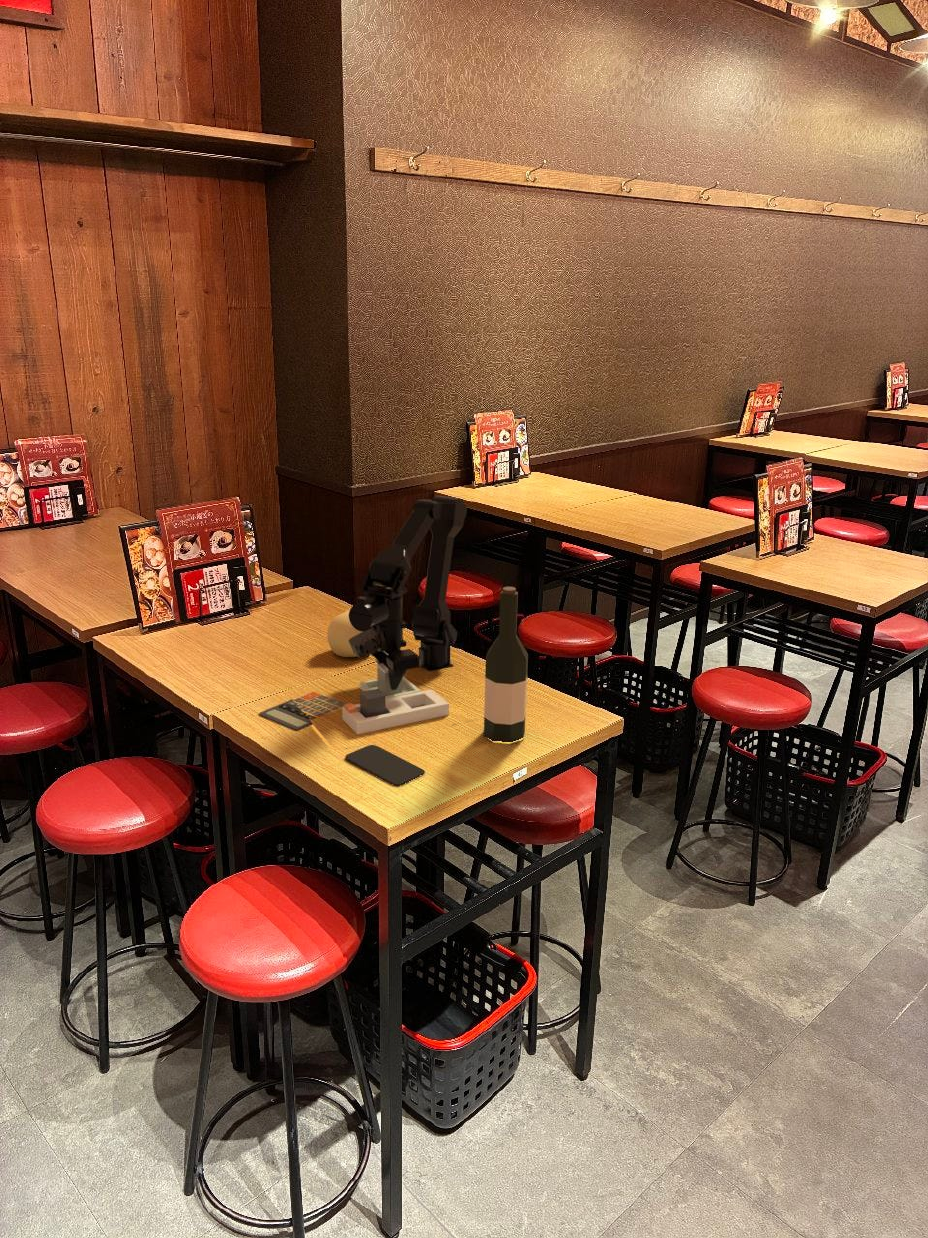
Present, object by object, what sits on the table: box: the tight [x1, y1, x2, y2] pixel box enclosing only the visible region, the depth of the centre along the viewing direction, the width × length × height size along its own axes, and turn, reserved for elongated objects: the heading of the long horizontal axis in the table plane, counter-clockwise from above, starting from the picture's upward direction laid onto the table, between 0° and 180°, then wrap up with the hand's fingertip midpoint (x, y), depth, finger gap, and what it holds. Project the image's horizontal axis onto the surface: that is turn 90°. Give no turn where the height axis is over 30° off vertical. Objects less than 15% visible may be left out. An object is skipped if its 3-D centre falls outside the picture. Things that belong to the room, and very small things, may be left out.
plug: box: [376, 664, 402, 696], centre depth 193 cm, size 4×4×6 cm
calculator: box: [258, 691, 345, 732], centre depth 186 cm, size 12×1×15 cm
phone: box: [345, 744, 426, 787], centre depth 164 cm, size 7×1×15 cm
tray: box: [358, 675, 422, 699], centre depth 194 cm, size 10×10×2 cm
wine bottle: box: [483, 586, 529, 742], centre depth 172 cm, size 8×8×30 cm
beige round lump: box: [326, 609, 363, 658], centre depth 215 cm, size 11×12×11 cm
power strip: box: [341, 689, 450, 736], centre depth 182 cm, size 20×8×6 cm, turn 118°
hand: (389, 686), depth 194 cm, fingers closed on plug, 4 cm apart
